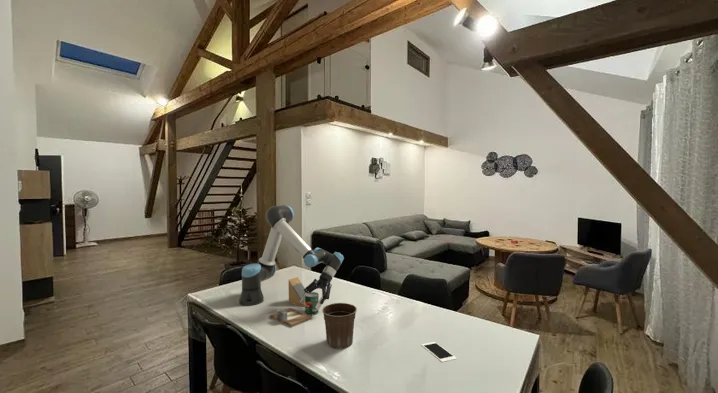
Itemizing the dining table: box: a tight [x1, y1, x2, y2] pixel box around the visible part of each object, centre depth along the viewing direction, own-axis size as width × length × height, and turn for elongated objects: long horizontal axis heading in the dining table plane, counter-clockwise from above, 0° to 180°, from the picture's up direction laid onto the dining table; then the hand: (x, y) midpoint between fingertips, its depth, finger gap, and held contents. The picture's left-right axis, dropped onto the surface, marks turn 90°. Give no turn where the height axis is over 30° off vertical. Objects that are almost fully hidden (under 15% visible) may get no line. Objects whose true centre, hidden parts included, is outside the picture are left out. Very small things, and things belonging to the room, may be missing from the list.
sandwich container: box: [288, 276, 306, 308], centre depth 200 cm, size 9×15×15 cm, turn 57°
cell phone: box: [420, 341, 458, 363], centre depth 139 cm, size 8×16×1 cm, turn 22°
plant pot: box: [321, 302, 358, 350], centre depth 146 cm, size 16×16×16 cm
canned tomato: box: [304, 291, 320, 316], centre depth 183 cm, size 8×8×11 cm
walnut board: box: [269, 307, 313, 328], centre depth 175 cm, size 20×14×6 cm
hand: (308, 305), depth 181 cm, fingers open, 13 cm apart
